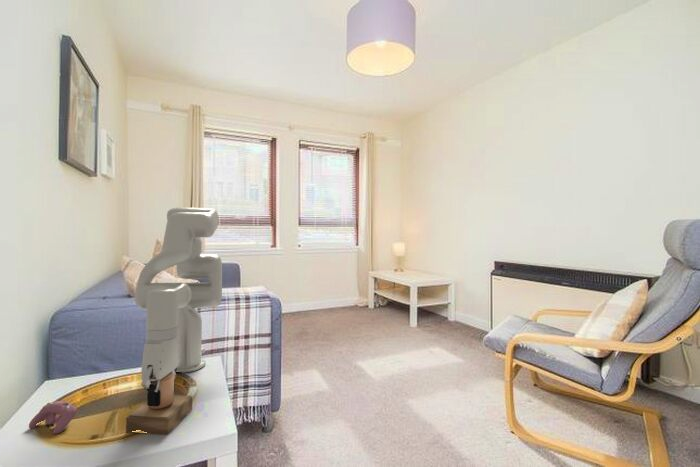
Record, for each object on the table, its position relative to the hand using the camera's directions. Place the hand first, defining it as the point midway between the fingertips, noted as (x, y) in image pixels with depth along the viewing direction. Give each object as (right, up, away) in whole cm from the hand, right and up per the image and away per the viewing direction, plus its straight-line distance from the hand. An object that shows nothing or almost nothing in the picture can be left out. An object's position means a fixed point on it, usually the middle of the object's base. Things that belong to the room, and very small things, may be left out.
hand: (161, 398), depth 94 cm
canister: (0, -1, 0) cm, 1 cm away
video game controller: (-26, -6, -4) cm, 27 cm away
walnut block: (0, -6, 0) cm, 6 cm away
